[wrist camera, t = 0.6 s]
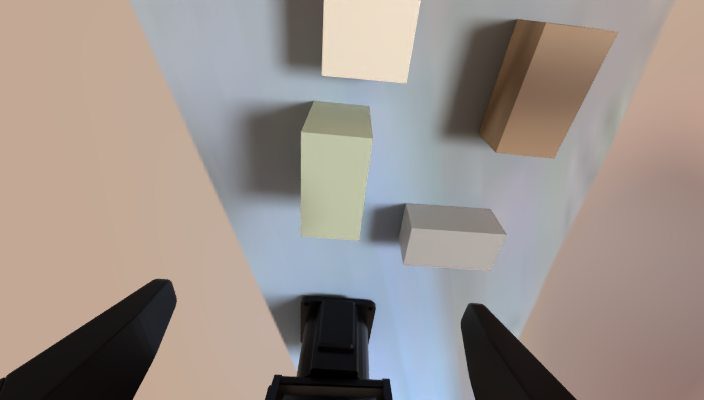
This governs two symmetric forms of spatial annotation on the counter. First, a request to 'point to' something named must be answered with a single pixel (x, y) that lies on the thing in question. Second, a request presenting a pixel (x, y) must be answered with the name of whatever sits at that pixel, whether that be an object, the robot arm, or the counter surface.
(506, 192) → the counter surface
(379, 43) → the cream brick
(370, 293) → the counter surface
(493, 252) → the grey brick
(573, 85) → the walnut brick
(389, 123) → the counter surface
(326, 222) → the sage brick
